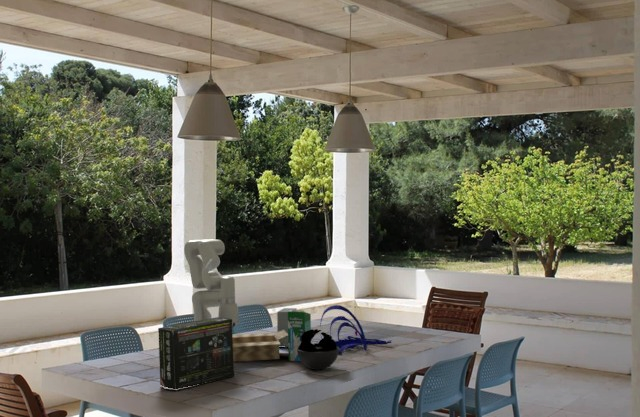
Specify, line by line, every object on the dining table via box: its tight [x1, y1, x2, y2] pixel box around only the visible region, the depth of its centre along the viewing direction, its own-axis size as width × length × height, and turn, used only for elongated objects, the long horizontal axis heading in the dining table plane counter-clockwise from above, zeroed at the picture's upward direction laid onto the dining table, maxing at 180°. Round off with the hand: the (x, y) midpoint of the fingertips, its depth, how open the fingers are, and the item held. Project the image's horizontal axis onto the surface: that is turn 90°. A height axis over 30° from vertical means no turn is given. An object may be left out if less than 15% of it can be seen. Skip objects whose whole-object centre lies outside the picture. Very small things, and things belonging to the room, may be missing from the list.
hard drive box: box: [276, 307, 298, 347], centre depth 416 cm, size 16×8×20 cm, turn 168°
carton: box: [232, 332, 281, 363], centre depth 387 cm, size 24×32×9 cm
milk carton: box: [287, 309, 312, 362], centre depth 379 cm, size 9×9×25 cm
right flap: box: [274, 330, 288, 340], centre depth 390 cm, size 1×17×6 cm
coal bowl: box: [297, 328, 339, 371], centre depth 356 cm, size 20×20×19 cm
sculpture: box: [319, 304, 393, 355], centre depth 406 cm, size 35×34×26 cm
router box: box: [157, 316, 235, 389], centre depth 335 cm, size 36×11×27 cm, turn 140°
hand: (229, 336), depth 384 cm, fingers closed
